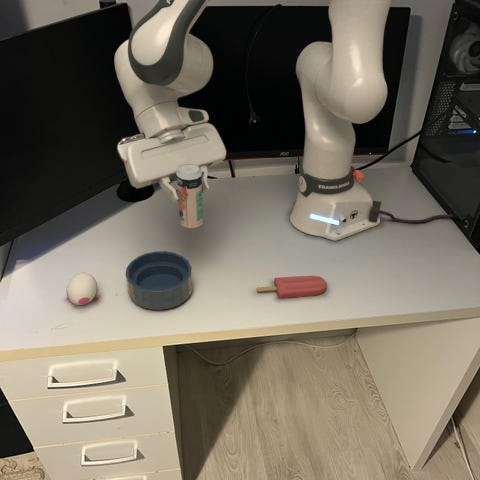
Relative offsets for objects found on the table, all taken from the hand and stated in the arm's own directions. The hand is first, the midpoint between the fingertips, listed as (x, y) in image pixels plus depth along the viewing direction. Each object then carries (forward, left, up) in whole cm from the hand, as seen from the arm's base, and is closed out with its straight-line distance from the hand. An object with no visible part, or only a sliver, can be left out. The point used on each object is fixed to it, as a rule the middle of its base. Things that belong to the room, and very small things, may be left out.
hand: (192, 195), depth 100 cm
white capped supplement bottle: (0, -1, -7) cm, 7 cm away
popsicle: (-17, +12, -19) cm, 29 cm away
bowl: (+9, +3, -19) cm, 21 cm away
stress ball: (+25, 0, -19) cm, 31 cm away
